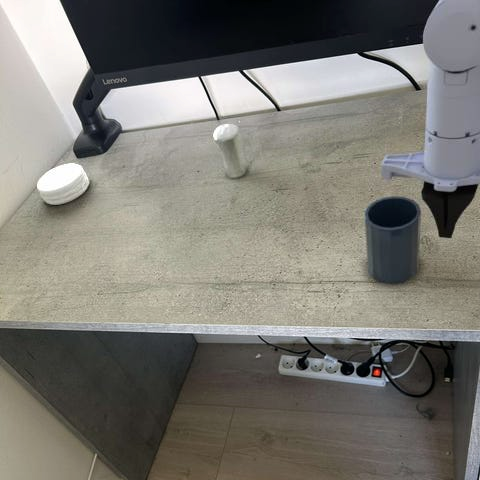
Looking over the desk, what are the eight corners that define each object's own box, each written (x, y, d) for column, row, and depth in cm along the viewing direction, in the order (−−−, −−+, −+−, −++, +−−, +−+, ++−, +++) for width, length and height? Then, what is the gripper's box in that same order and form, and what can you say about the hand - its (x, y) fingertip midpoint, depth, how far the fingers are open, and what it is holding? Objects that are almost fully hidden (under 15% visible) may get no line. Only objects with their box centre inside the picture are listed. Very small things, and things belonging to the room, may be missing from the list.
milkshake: (249, 179, 88) (235, 127, 80) (222, 180, 90) (206, 129, 82) (256, 165, 90) (244, 113, 83) (229, 166, 92) (215, 116, 85)
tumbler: (413, 247, 67) (415, 192, 60) (422, 280, 62) (425, 224, 56) (365, 254, 68) (362, 201, 61) (371, 286, 64) (367, 233, 57)
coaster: (86, 171, 105) (78, 156, 102) (93, 192, 98) (85, 177, 96) (42, 190, 104) (33, 176, 101) (47, 212, 97) (38, 197, 95)
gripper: (370, 142, 49) (375, 246, 58) (537, 149, 42) (510, 264, 52) (391, 107, 52) (392, 210, 62) (547, 107, 46) (520, 222, 55)
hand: (446, 232), depth 57 cm, fingers closed
